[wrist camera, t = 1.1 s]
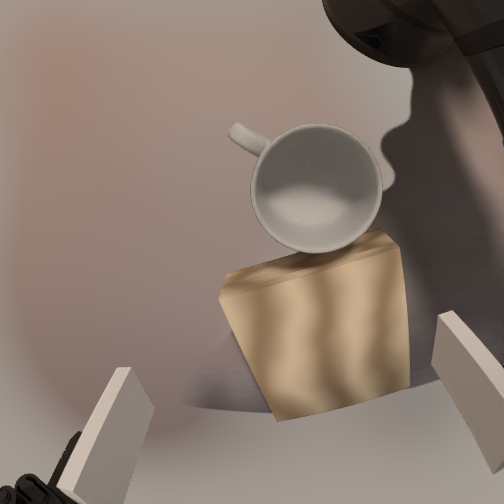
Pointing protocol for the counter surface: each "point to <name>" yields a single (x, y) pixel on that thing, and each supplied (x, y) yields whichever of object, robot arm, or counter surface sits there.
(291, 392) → the wooden riser stand
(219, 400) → the counter surface
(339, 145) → the teacup
